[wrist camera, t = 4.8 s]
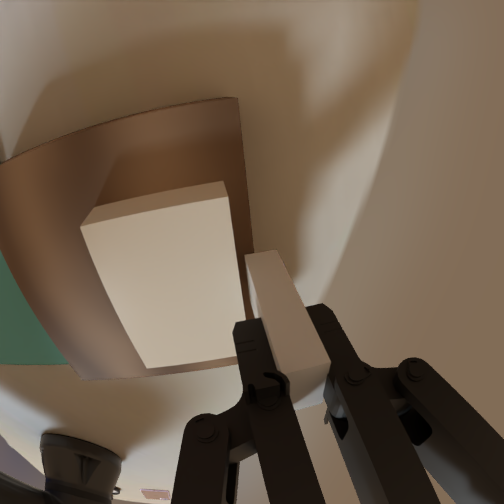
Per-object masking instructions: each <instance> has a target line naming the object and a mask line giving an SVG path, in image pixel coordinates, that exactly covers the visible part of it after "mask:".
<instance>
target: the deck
mask: <svg viewBox="0 0 504 504" xmlns="http://www.w3.org/2000/svg"><path fill="white" fill-rule="evenodd" d="M219 181H223V182H224V185H225V188H226V191H227V195H228V199H229V207H230V214H231V221H232V229H233V236H234V243H235V250H236V257H237V264H238V271H239V278H240V284H241V291H242V298H243V305H244V311H245V318H246V320H249V319H254V318H255V316H254V313H253V309H252V306H251V302H250V297H249V289H248V280H247V272H246V264H245V256H244V255H247V254H252V253H254V248H253V238H252V229H251V219H250V210H249V200H248V190H247V181H246V171H245V162H244V152H243V143H242V133H241V124H240V115H239V105H238V98H234V97H224V98H216V99H209V100H202V101H196V102H190V103H184V104H179V105H174V106H169V107H164V108H159V109H154V110H150V111H146V112H141V113H137V114H133V115H129V116H126V117H122V118H118V119H115V120H111V121H108V122H104V123H101V124H98V125H94V126H91V127H88V128H85V129H82V130H79V131H76V132H73V133H71V134H68V135H65V136H62V137H60V138H57V139H54V140H52V141H49V142H47V143H44V144H42V145H39V146H37V147H35V148H32V149H30V150H28V151H25V152H23V153H21V154H19V155H17V156H15V157H12V158H10V159H8V160H6V161H5V162H3V163H1V164H0V250H1V253H2V255H3V257H4V259H5V261H6V263H7V265H8V267H9V269H10V271H11V273H12V275H13V277H14V279H15V281H16V283H17V285H18V287H19V288H20V290H21V292H22V294H23V296H24V297H25V299H26V301H27V302H28V304H29V306H30V307H31V309H32V311H33V312H34V314H35V316H36V317H37V319H38V320H39V322H40V323H41V325H42V327H43V328H44V330H45V331H46V333H47V334H48V335H49V337H50V338H51V340H52V341H53V343H54V344H55V345H56V347H57V348H58V350H59V351H60V352H61V354H62V355H63V356H64V358H65V359H66V360H67V362H68V363H69V364H70V366H71V367H72V368H73V369H74V371H75V372H76V373H77V374H78V376H79V377H80V378H81V379H82V380H104V379H122V378H135V377H147V376H157V375H167V374H175V373H183V372H191V371H198V370H205V369H211V368H217V367H223V366H229V365H235V364H238V360H237V356H233V357H227V358H221V359H215V360H209V361H203V362H196V363H189V364H181V365H174V366H165V367H157V368H146V366H145V364H144V363H143V361H142V359H141V358H140V356H139V354H138V352H137V351H136V349H135V347H134V345H133V343H132V342H131V340H130V338H129V336H128V334H127V332H126V330H125V329H124V327H123V325H122V323H121V321H120V319H119V317H118V315H117V313H116V311H115V309H114V307H113V305H112V303H111V301H110V298H109V296H108V294H107V292H106V290H105V288H104V285H103V283H102V281H101V279H100V276H99V274H98V272H97V269H96V267H95V265H94V262H93V260H92V257H91V255H90V252H89V250H88V247H87V245H86V242H85V239H84V237H83V234H82V231H81V229H80V226H81V224H82V223H83V222H84V220H85V219H86V217H87V216H88V215H89V213H90V212H91V211H92V209H93V208H94V207H97V206H101V205H105V204H109V203H113V202H118V201H122V200H126V199H131V198H135V197H140V196H144V195H149V194H154V193H159V192H164V191H169V190H174V189H179V188H184V187H190V186H195V185H201V184H207V183H213V182H219Z"/></svg>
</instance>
